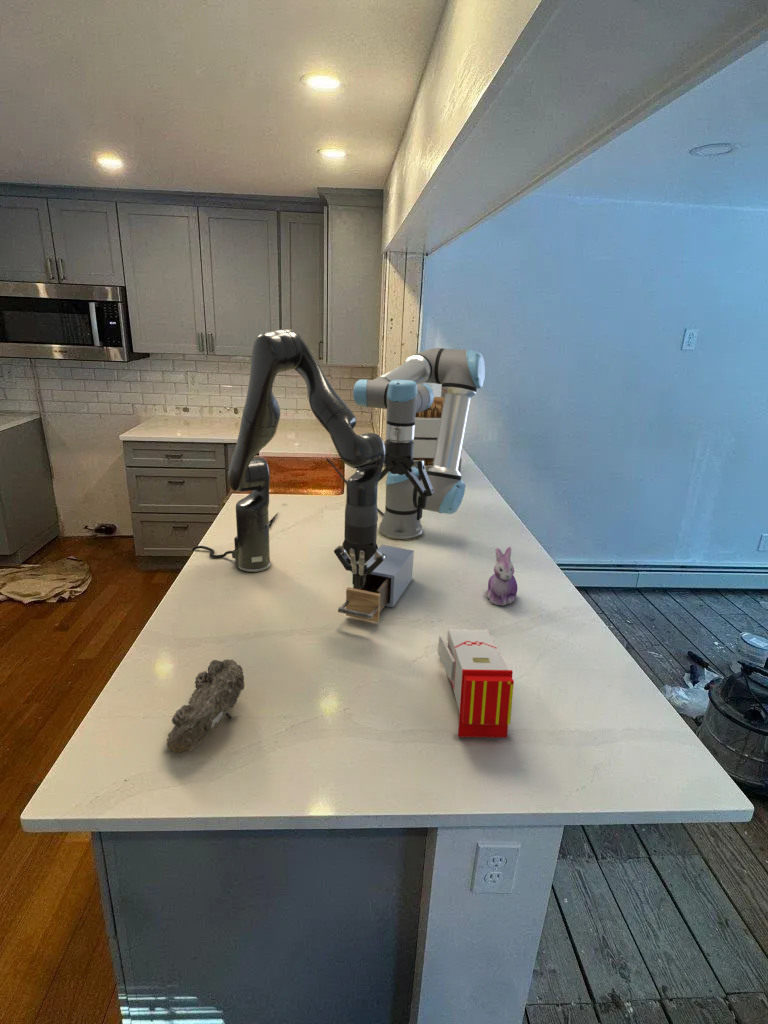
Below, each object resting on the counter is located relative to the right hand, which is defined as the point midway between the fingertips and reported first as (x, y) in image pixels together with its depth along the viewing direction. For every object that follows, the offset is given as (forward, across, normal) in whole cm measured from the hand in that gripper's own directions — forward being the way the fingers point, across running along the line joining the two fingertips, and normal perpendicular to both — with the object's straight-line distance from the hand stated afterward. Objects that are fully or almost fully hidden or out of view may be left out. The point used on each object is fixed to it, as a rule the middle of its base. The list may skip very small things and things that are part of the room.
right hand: (395, 515), depth 158 cm
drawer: (+20, 0, -19) cm, 27 cm away
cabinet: (+21, 0, -5) cm, 21 cm away
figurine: (+21, +31, +2) cm, 38 cm away
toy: (+21, +31, -42) cm, 56 cm away
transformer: (+21, -24, +115) cm, 120 cm away
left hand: (+9, 0, -27) cm, 29 cm away
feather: (+21, -56, +33) cm, 68 cm away
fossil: (+21, -14, -68) cm, 72 cm away
